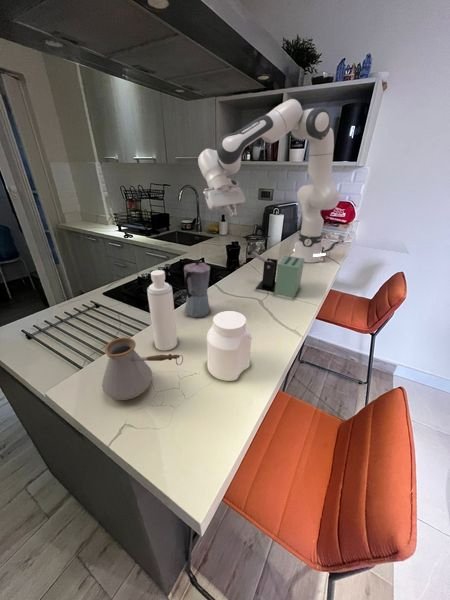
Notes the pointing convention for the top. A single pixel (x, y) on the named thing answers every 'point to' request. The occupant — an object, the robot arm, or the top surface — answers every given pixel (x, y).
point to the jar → (228, 346)
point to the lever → (257, 255)
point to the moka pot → (197, 288)
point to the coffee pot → (128, 370)
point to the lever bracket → (269, 276)
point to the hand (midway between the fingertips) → (234, 215)
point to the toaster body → (289, 276)
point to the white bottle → (162, 311)
